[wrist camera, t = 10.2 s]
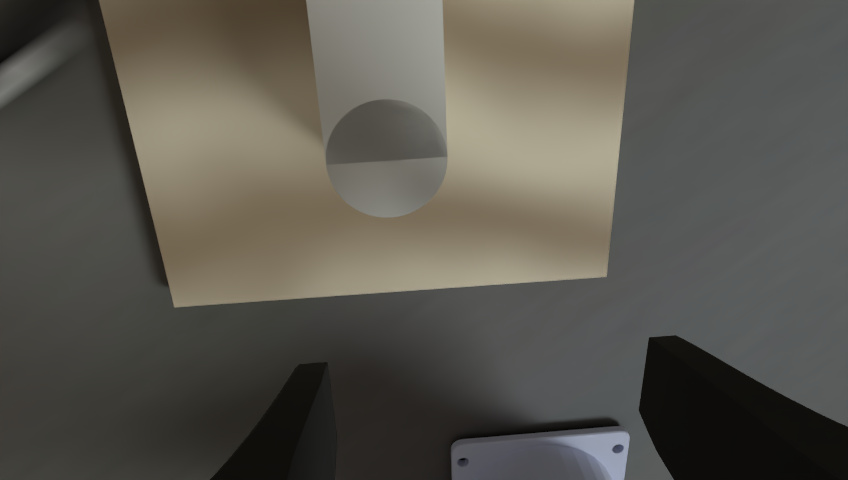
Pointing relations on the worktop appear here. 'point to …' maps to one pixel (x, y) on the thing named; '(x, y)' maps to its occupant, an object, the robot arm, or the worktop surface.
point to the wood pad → (305, 159)
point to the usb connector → (381, 100)
